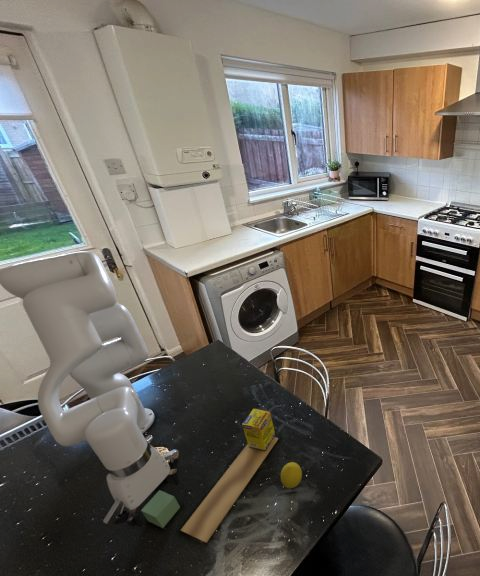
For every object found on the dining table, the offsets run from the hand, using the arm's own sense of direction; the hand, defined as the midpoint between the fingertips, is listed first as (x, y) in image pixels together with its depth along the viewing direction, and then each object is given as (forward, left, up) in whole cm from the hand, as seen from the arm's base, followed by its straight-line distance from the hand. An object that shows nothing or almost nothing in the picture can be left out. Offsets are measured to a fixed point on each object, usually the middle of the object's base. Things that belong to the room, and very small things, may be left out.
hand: (156, 502), depth 76 cm
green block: (0, 0, -6) cm, 6 cm away
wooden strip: (+11, +13, -6) cm, 18 cm away
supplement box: (+10, +25, -6) cm, 28 cm away
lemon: (+27, +17, -7) cm, 32 cm away
